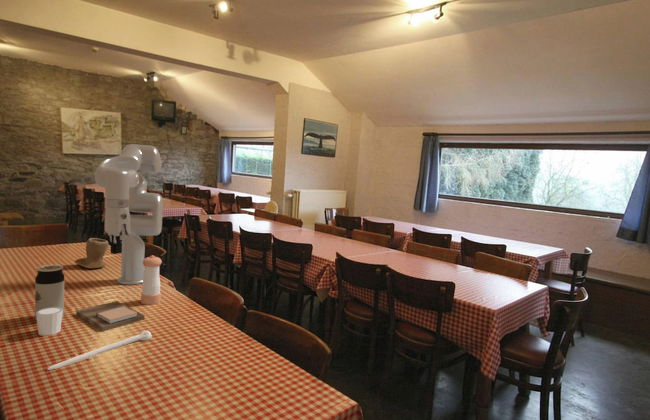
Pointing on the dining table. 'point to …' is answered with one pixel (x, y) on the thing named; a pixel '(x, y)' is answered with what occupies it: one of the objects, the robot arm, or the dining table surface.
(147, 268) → the salt shaker
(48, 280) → the travel mug
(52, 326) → the white cup
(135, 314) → the tile
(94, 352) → the white nail
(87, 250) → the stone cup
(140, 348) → the dining table surface
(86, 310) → the board
